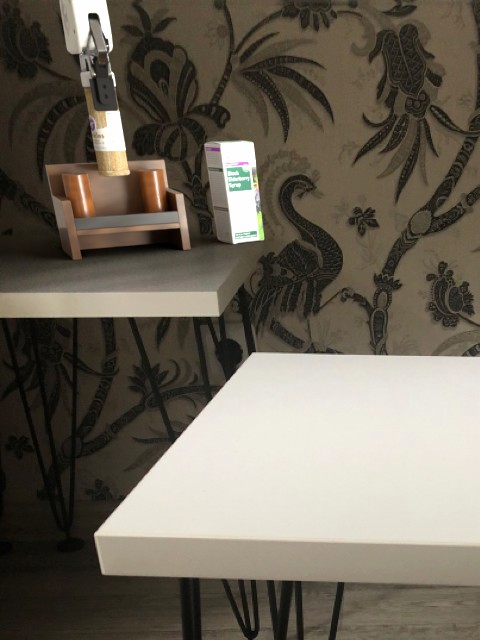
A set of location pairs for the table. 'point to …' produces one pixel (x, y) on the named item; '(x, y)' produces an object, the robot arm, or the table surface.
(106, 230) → the spice rack
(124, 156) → the sprinkles bottle
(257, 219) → the syrup box
